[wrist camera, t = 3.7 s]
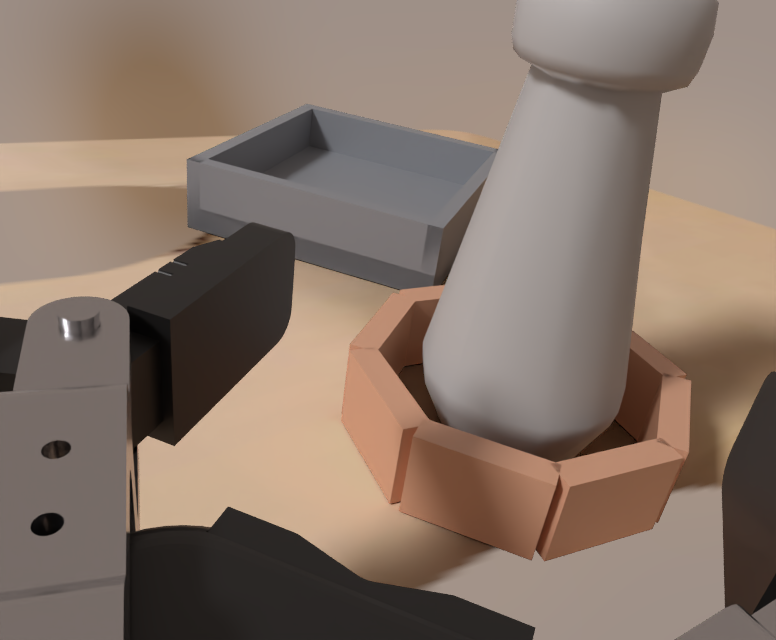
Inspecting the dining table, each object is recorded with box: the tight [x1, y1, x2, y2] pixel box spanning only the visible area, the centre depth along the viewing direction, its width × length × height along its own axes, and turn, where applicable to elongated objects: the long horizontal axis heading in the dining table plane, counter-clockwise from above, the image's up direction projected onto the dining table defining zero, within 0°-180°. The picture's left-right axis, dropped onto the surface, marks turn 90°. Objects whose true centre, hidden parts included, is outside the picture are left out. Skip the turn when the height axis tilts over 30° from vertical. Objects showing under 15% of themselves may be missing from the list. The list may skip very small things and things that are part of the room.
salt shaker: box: [423, 0, 719, 462], centre depth 19 cm, size 6×6×13 cm
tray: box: [187, 104, 498, 290], centre depth 34 cm, size 11×11×3 cm
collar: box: [341, 285, 691, 561], centre depth 22 cm, size 9×9×2 cm
